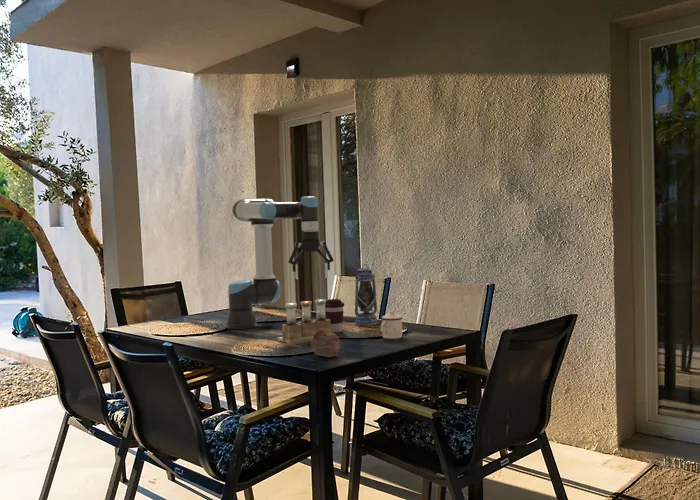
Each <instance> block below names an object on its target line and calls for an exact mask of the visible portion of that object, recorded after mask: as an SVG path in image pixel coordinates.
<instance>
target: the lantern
mask: <svg viewBox="0 0 700 500" xmlns="http://www.w3.org/2000/svg"><path fill="white" fill-rule="evenodd" d="M365 266H366V267H365ZM364 267H365V268H364ZM357 271H358V273H357V274H356V276H355V290H354V292H355V293H354V295H355V299H354V315H355V322H353V323H354V325H355V326H363V325H367V326H375V325H378V324H380V323H379V320H378V319H377V315H376V314H377V312H378V303H377V292H376V291H377V290H376V278H375V277H376V275H375V274H374V273H373V272H372V271H373V268H370V267H368V265H367V264H366V263H364V264H363V265H362V267H361V268H358V269H357ZM359 311H360V312H361V313H359Z"/></svg>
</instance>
